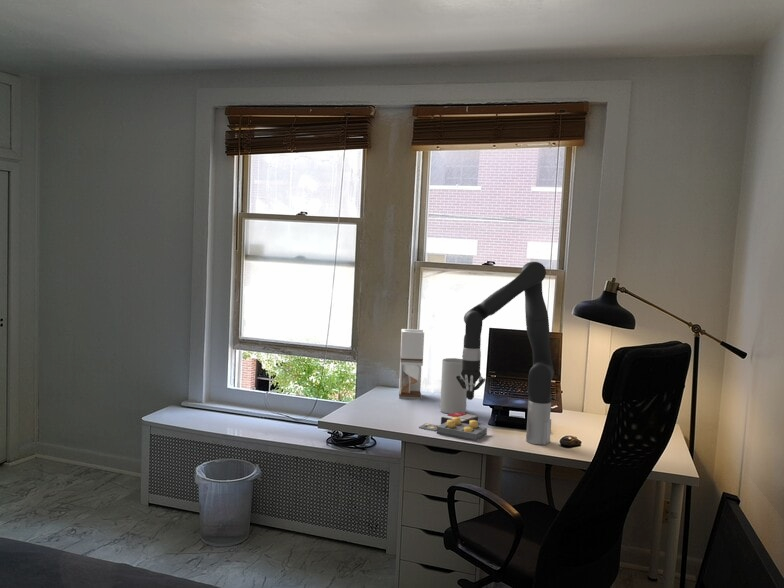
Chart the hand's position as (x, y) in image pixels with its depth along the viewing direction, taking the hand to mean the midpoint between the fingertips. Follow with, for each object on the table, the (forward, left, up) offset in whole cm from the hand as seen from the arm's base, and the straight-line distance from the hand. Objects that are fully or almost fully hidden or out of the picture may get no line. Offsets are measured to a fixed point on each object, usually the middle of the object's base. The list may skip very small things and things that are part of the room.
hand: (469, 399), depth 272 cm
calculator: (+12, -17, -17) cm, 27 cm away
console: (+4, -3, -16) cm, 17 cm away
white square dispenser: (+54, -48, -17) cm, 74 cm away
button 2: (+8, -6, -14) cm, 17 cm away
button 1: (+8, 0, -14) cm, 16 cm away
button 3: (0, 0, -15) cm, 15 cm away
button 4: (0, -6, -14) cm, 15 cm away
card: (+19, -3, -16) cm, 25 cm away
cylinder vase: (+23, -35, -17) cm, 45 cm away
